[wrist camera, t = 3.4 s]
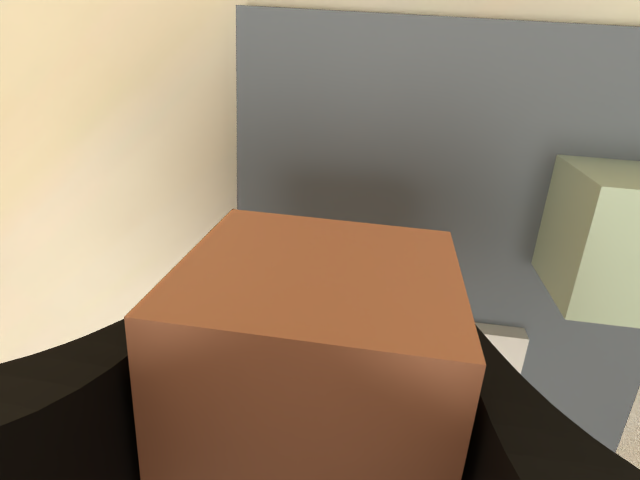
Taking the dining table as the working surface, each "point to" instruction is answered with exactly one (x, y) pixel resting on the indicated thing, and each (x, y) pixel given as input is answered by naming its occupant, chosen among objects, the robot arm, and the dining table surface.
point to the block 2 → (592, 240)
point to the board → (450, 159)
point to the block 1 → (306, 355)
